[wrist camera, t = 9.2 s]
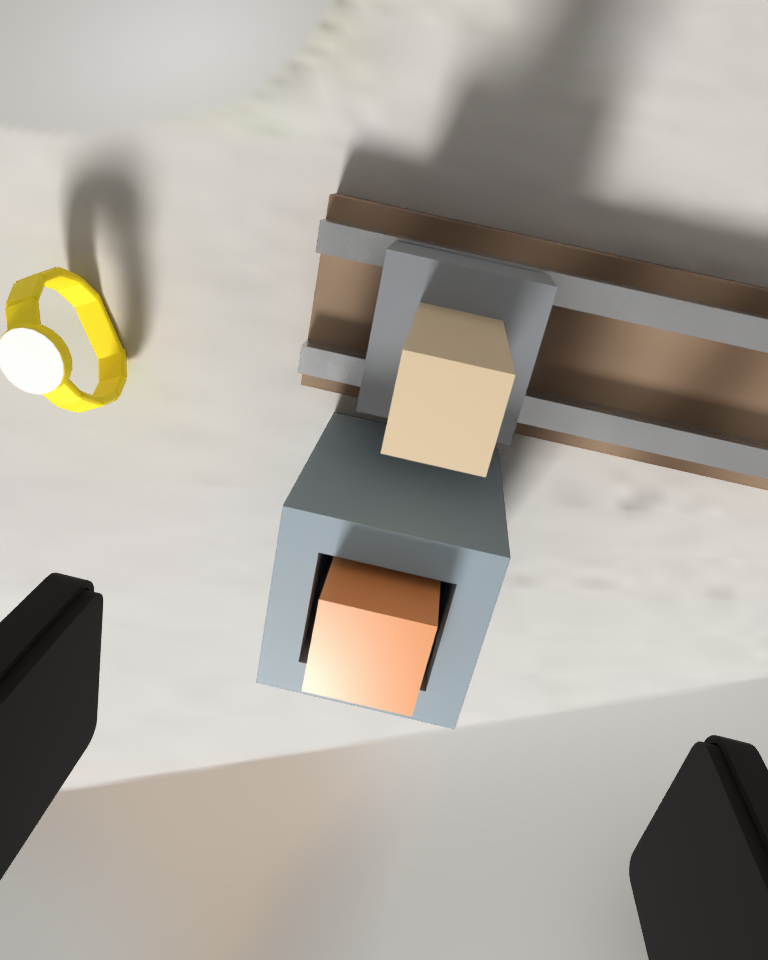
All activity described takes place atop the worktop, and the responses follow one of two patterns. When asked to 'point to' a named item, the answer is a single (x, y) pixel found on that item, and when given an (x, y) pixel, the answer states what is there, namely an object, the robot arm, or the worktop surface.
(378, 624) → the button
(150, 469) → the worktop surface
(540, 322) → the carriage
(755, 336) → the rail board
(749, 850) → the robot arm
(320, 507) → the end cabinet
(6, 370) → the watch
